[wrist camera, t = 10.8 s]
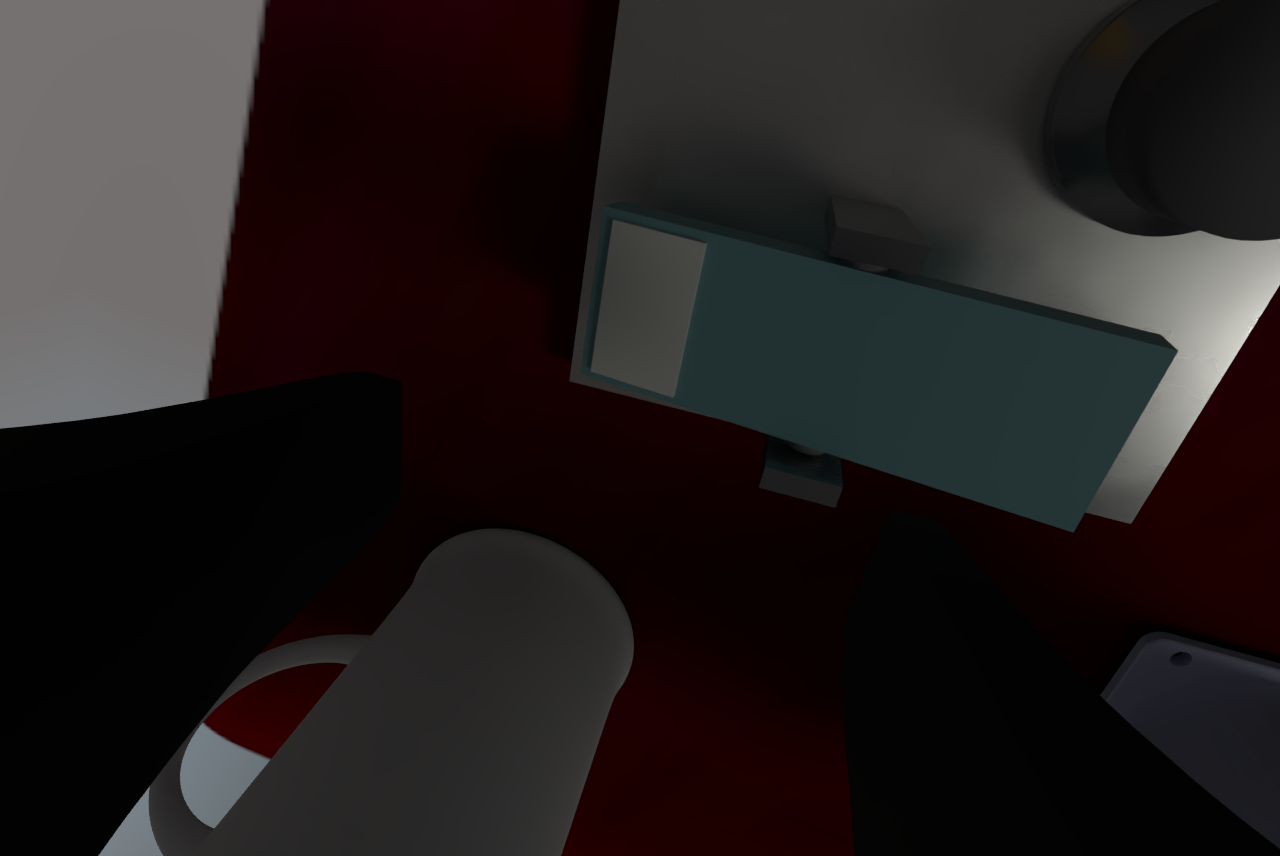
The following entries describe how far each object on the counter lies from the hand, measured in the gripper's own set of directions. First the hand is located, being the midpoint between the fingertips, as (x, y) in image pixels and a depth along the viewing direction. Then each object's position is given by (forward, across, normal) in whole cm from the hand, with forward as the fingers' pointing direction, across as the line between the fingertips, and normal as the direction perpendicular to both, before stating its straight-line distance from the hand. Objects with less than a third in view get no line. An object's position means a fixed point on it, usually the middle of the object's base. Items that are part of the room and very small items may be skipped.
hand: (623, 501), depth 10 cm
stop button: (+7, -8, -6) cm, 12 cm away
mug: (+10, +6, +13) cm, 18 cm away
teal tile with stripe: (+6, -3, -1) cm, 6 cm away
